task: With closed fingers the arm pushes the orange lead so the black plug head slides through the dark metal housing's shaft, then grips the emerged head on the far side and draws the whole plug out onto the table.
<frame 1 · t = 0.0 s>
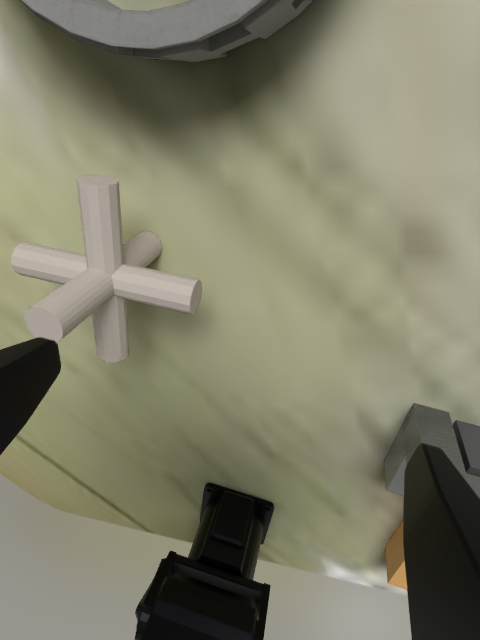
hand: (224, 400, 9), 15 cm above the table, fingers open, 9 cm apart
housing: (472, 455, 26), on the table
pipe connector: (150, 244, 25), on the table
plug: (439, 499, 29), on the table
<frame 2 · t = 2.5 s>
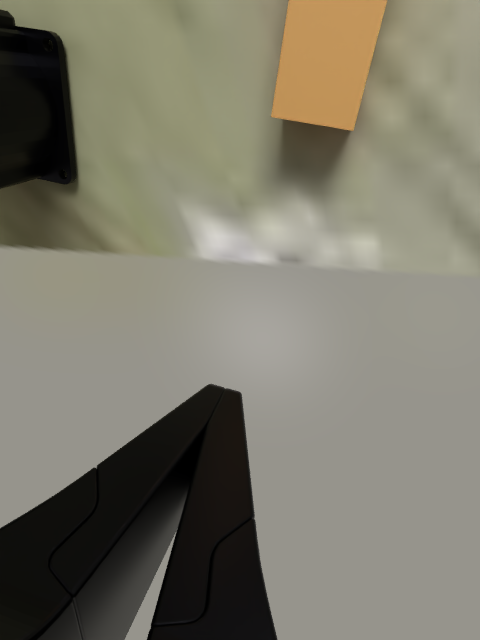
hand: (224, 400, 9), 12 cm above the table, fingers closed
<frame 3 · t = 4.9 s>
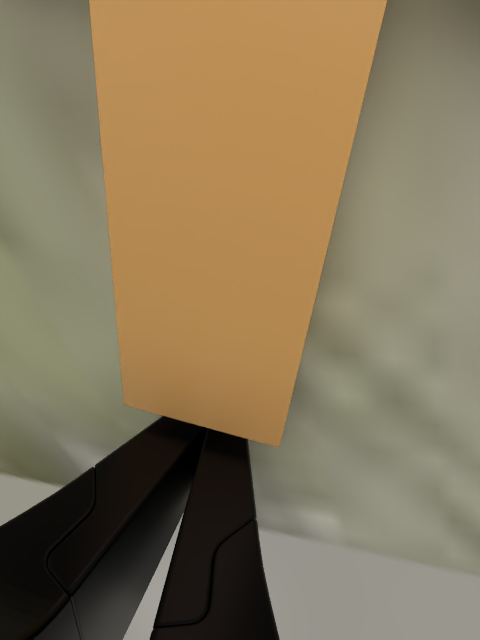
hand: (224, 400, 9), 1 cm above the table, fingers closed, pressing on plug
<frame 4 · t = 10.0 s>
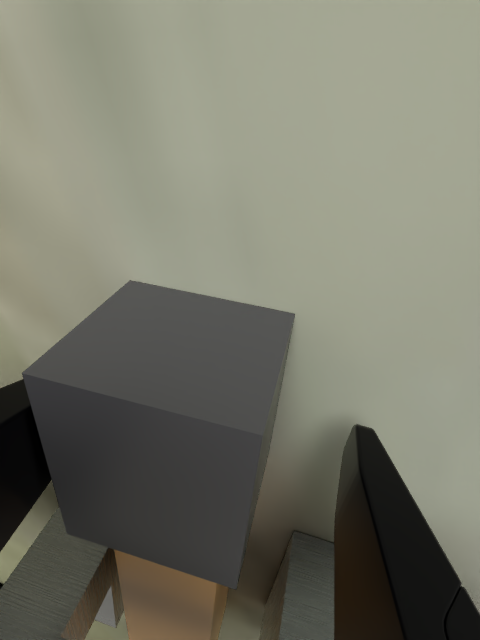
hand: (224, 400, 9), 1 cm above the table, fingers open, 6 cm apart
housing: (209, 549, 15), on the table
plug: (199, 494, 14), on the table, touching gripper
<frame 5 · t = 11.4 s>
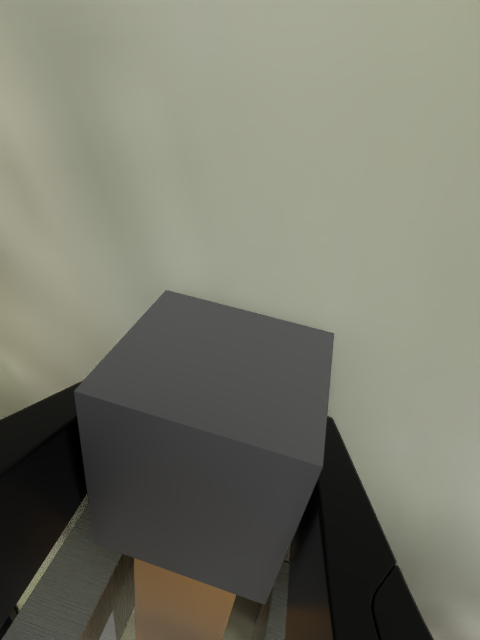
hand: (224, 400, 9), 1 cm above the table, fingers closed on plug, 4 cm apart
housing: (202, 574, 17), on the table
plug: (213, 500, 14), on the table, touching gripper
when the fingers open (1 cm above the table, at t = 12.7 s): plug stays where it is, on the table.
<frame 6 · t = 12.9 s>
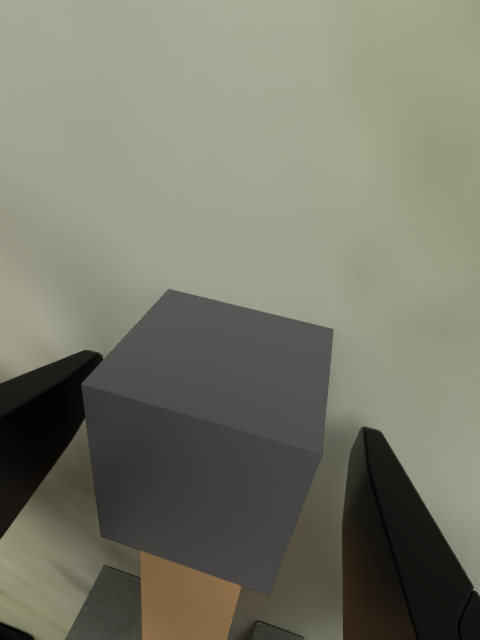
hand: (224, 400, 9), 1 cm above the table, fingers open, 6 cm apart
housing: (195, 626, 20), on the table
plug: (217, 496, 14), on the table
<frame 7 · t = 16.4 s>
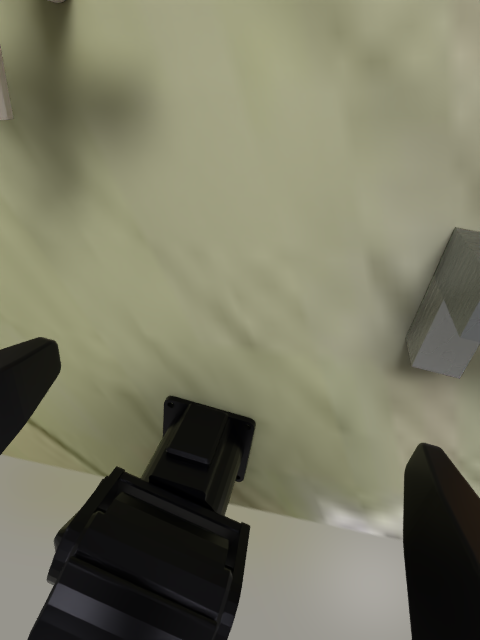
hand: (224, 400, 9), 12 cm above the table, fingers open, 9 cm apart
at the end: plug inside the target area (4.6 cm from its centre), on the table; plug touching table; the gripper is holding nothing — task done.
